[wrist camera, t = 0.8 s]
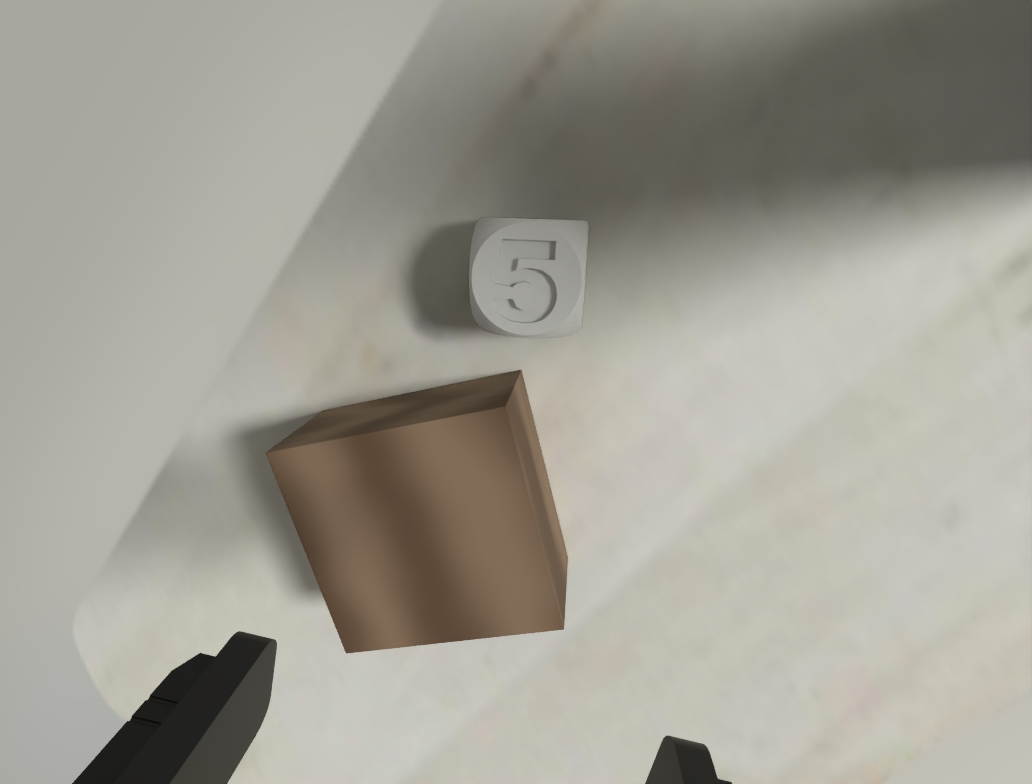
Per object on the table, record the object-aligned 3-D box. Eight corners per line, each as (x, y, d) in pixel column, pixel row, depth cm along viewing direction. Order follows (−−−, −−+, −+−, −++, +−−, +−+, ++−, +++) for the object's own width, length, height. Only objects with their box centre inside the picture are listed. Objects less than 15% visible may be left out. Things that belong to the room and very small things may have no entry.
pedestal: (521, 370, 29) (505, 406, 24) (567, 557, 33) (563, 629, 27) (323, 410, 32) (265, 452, 26) (385, 582, 35) (346, 653, 29)
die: (588, 220, 27) (589, 220, 22) (582, 320, 28) (581, 341, 23) (488, 217, 27) (468, 217, 22) (487, 315, 29) (468, 335, 24)
